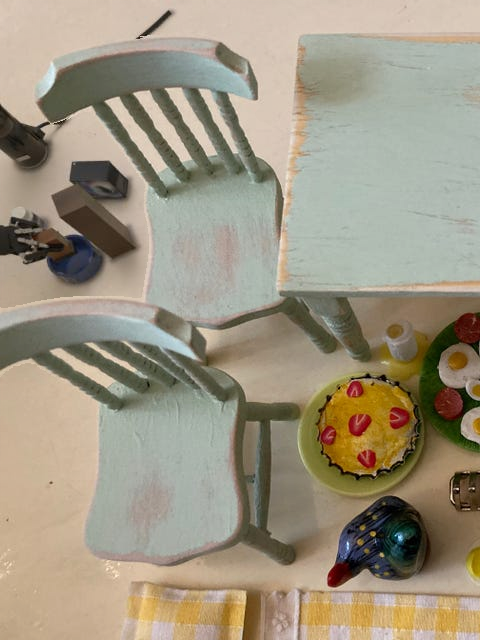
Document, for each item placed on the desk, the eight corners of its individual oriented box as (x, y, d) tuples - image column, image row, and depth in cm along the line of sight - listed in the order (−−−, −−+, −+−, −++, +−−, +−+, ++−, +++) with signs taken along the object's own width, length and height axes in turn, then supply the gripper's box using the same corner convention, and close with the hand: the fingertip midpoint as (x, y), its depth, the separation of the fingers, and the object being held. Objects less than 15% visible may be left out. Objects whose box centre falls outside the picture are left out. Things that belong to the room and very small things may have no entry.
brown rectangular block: (104, 238, 192) (50, 195, 169) (127, 228, 193) (77, 183, 170) (112, 259, 190) (59, 217, 167) (136, 247, 191) (86, 205, 168)
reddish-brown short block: (52, 251, 184) (30, 236, 176) (73, 241, 185) (52, 226, 176) (56, 263, 183) (34, 248, 175) (78, 253, 184) (57, 238, 175)
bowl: (68, 237, 193) (58, 229, 188) (109, 247, 191) (100, 240, 187) (49, 277, 189) (38, 270, 185) (90, 288, 188) (81, 281, 184)
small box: (89, 200, 196) (67, 181, 186) (92, 180, 198) (70, 160, 187) (126, 199, 196) (106, 180, 185) (129, 179, 197) (109, 158, 187)
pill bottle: (42, 236, 193) (23, 222, 185) (27, 233, 193) (6, 219, 185) (49, 221, 194) (29, 206, 186) (33, 218, 195) (13, 203, 187)
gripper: (-7, 254, 163) (73, 253, 176) (-23, 207, 166) (56, 210, 179) (-12, 273, 167) (66, 271, 180) (-28, 226, 171) (49, 228, 184)
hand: (60, 240), depth 180 cm, fingers closed on reddish-brown short block, 3 cm apart
